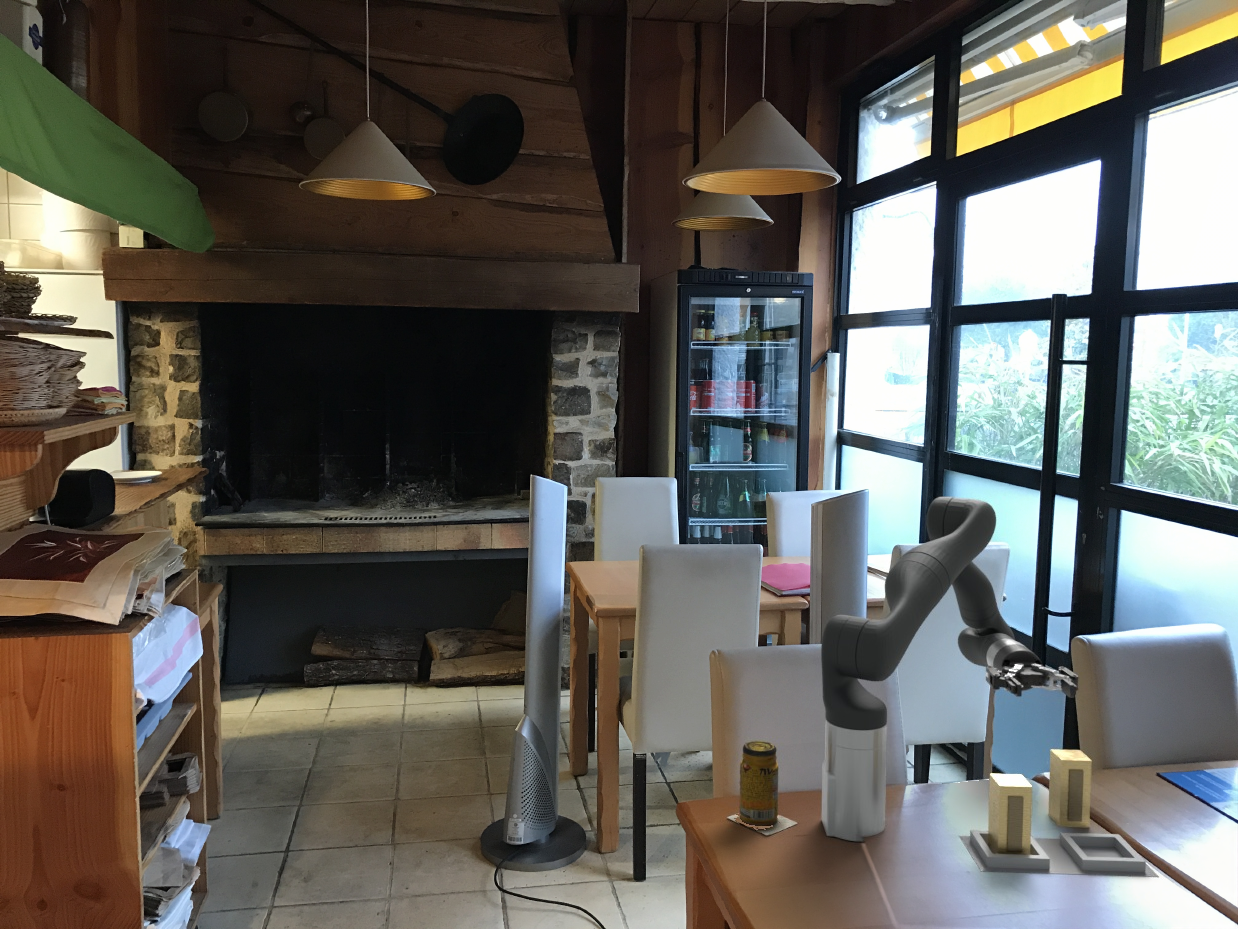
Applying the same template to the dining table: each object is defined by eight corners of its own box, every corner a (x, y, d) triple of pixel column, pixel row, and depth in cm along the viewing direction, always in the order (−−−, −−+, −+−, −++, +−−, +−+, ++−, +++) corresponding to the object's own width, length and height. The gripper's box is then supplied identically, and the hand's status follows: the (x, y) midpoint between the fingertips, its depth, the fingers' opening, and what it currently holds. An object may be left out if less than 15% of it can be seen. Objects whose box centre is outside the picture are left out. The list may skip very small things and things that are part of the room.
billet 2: (1059, 830, 151) (1062, 760, 150) (1048, 817, 156) (1050, 749, 155) (1089, 831, 151) (1092, 761, 150) (1077, 818, 155) (1079, 750, 155)
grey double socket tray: (980, 878, 137) (981, 861, 137) (958, 842, 148) (959, 826, 148) (1158, 883, 136) (1159, 866, 135) (1123, 847, 147) (1123, 830, 146)
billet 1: (998, 862, 140) (1000, 786, 139) (987, 846, 145) (989, 773, 144) (1030, 863, 139) (1033, 787, 139) (1019, 847, 144) (1021, 774, 143)
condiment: (757, 806, 161) (758, 735, 160) (798, 824, 154) (799, 749, 154) (726, 819, 156) (727, 745, 156) (766, 837, 150) (767, 761, 149)
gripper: (974, 643, 179) (1002, 668, 163) (1054, 643, 178) (1091, 669, 162) (973, 683, 180) (1001, 712, 164) (1053, 684, 179) (1089, 714, 163)
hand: (1046, 691), depth 163 cm, fingers open, 8 cm apart
